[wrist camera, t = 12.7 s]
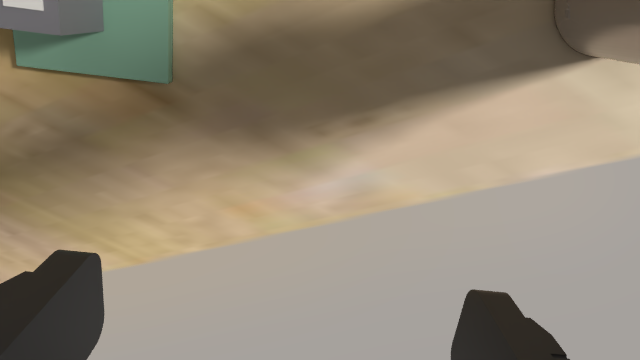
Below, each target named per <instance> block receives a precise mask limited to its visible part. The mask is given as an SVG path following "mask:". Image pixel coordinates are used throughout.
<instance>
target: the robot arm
mask: <svg viewBox="0 0 640 360" xmlns="http://www.w3.org/2000/svg"><path fill="white" fill-rule="evenodd" d="M555 19H556V24H557V28H558V30H559V32H560V34H561V36H562V38H563V39H564V40H565V42H566V43H567V44H568V45H569V46H570V47H572V48H573V49H574V50H576V51H577V52H580V53H582V54H585V55H588V56H594V57H600V58H606V59H612V60H617V61H623V62H629V63H635V64H640V0H555ZM103 302H104V301H103V286H102V269H101V260H100V257H99V255H98V254H97V253H88V252H78V251H67V250H57V251H55V252H54V253H53V254H51V255H50V256H49V257H48V258H47V259H46V260H45V261H44V262H43V263H42V264H41V265H40V266H39V267H38V268H37V269H36V270H35V271H34V272H27V271H25V272H23V273H21V274H19V275H17V276H15V277H13V278H11V279H9V280H7V281H5V282H3V283H1V284H0V360H86V359H87V358H88V356H89V355H90V353H91V352H92V350H93V349H94V347H95V345H96V344H97V342H98V339H99V337H100V334H101V331H102V327H103V322H104V303H103ZM451 360H570V359H567V358H566V354H565V352H564V351H563V350H562V348H561V347H560V345H559V344H558V343H557V341H556V340H555V339H554V338H553V336H552V335H551V334H550V333H548V332H547V331H546V330H545V329H543V328H542V327H541V326H540V325H538V324H537V323H536V322H535V321H534V320H532V319H531V318H525V317H524V315H523V314H522V313H521V311H520V310H519V308H518V307H517V305H516V304H515V303H514V301H513V300H512V298H511V297H510V296H509V295H508V294H507V293H504V292H493V291H483V290H470V291H469V292H468V294H467V296H466V298H465V301H464V305H463V308H462V312H461V315H460V319H459V322H458V326H457V329H456V332H455V336H454V340H453V343H452V348H451Z"/></svg>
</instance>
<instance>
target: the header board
mask: <svg viewBox="0 0 640 360" xmlns="http://www.w3.org/2000/svg"><path fill="white" fill-rule="evenodd" d="M103 22H104V31H100V32H91V33H81V34H72V35H62V36H59V35H51V34H43V33H35V32H28V31H20V30H13V37H14V45H15V54H16V62H17V66H24V67H32V68H40V69H49V70H57V71H66V72H74V73H82V74H91V75H99V76H107V77H116V78H124V79H132V80H141V81H149V82H157V83H166V84H169V83H171V82H172V58H173V0H103Z"/></svg>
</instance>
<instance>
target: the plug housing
mask: <svg viewBox="0 0 640 360" xmlns="http://www.w3.org/2000/svg"><path fill="white" fill-rule="evenodd" d="M0 28H4V29H12V30H20V31H28V32H35V33H43V34H51V35H59V36H62V35H72V34H81V33H91V32H100V31H104V22H103V0H0Z"/></svg>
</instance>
